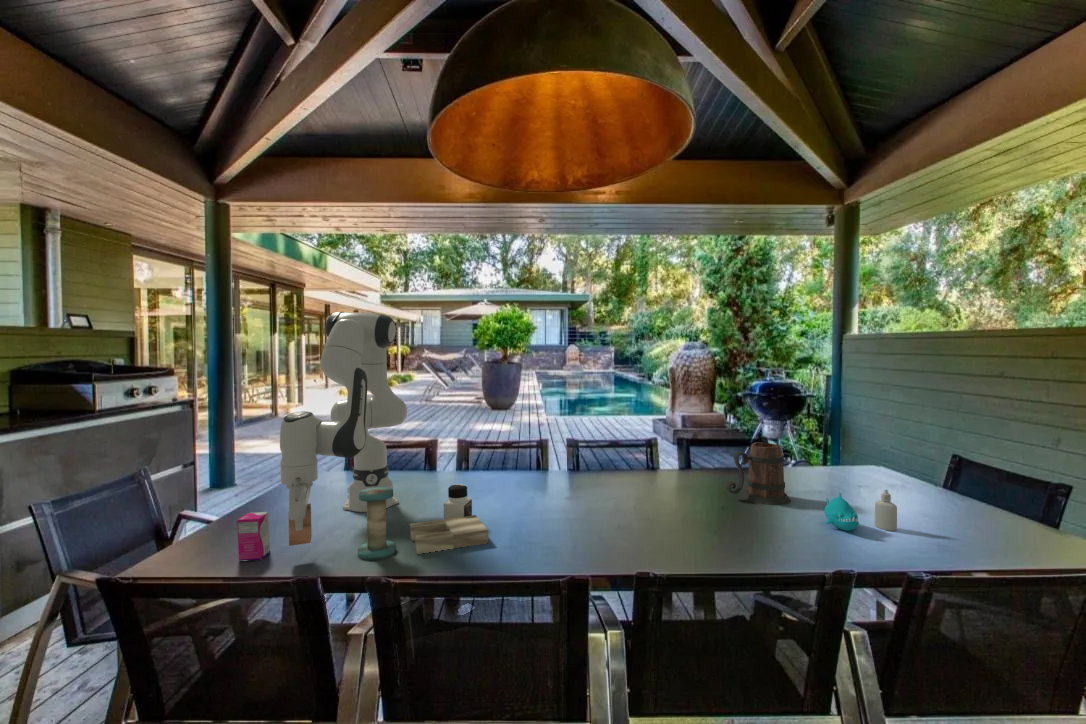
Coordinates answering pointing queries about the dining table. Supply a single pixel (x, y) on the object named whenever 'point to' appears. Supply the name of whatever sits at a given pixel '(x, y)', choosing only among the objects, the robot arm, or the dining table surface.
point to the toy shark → (841, 514)
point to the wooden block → (304, 534)
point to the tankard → (762, 475)
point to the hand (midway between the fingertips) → (300, 525)
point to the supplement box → (253, 536)
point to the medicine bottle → (457, 502)
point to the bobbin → (376, 524)
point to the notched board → (448, 534)
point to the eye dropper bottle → (886, 513)
